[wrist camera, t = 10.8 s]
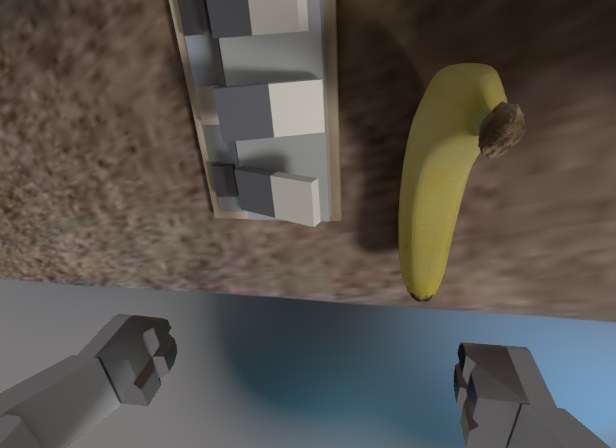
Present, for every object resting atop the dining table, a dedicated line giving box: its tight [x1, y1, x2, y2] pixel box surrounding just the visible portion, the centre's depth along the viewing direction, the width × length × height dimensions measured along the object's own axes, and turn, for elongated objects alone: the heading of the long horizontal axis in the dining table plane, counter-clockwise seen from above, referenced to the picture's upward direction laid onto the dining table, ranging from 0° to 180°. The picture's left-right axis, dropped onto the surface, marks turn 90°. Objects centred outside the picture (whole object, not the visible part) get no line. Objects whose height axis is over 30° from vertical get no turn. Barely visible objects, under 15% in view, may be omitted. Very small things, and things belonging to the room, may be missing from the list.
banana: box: [398, 63, 526, 302], centre depth 28 cm, size 23×6×20 cm, turn 1°
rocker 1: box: [206, 0, 309, 39], centre depth 28 cm, size 9×4×2 cm, turn 94°
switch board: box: [169, 0, 342, 221], centre depth 35 cm, size 15×26×2 cm, turn 4°
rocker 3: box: [234, 166, 321, 227], centre depth 35 cm, size 9×4×2 cm, turn 94°
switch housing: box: [219, 0, 332, 221], centre depth 34 cm, size 9×24×2 cm, turn 4°
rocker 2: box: [213, 78, 325, 142], centre depth 31 cm, size 9×4×2 cm, turn 94°
